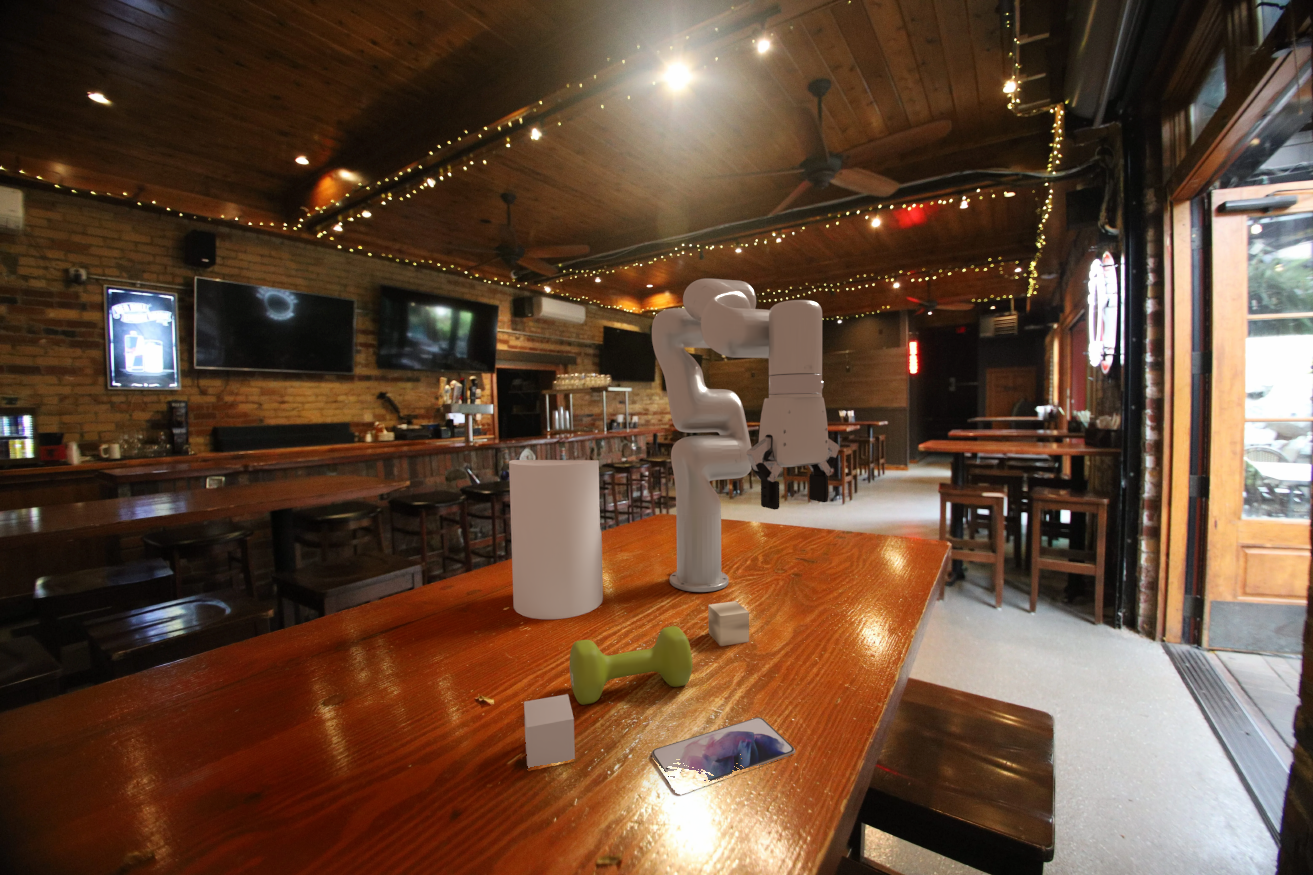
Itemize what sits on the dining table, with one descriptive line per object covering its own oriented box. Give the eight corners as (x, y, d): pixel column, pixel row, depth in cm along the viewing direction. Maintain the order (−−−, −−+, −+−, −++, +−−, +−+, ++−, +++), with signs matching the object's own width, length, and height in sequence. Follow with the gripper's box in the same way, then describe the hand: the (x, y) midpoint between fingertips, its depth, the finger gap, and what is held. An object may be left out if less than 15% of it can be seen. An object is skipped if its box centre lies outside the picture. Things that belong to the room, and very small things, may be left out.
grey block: (525, 743, 61) (524, 701, 60) (569, 734, 62) (567, 694, 62) (527, 772, 56) (526, 727, 55) (574, 762, 57) (573, 718, 57)
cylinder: (588, 621, 94) (585, 465, 92) (497, 616, 96) (492, 465, 95) (612, 587, 111) (609, 455, 109) (534, 584, 114) (530, 455, 112)
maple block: (708, 633, 89) (708, 604, 88) (735, 629, 90) (735, 601, 90) (720, 646, 84) (720, 616, 84) (749, 642, 85) (748, 612, 85)
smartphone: (798, 750, 58) (677, 793, 52) (798, 757, 58) (677, 800, 52) (760, 714, 65) (648, 749, 58) (760, 721, 65) (648, 756, 58)
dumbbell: (678, 665, 78) (677, 618, 78) (698, 693, 71) (697, 641, 70) (567, 684, 73) (566, 634, 73) (576, 716, 66) (574, 660, 65)
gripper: (817, 389, 84) (817, 495, 85) (731, 389, 76) (732, 506, 77) (856, 387, 78) (855, 502, 79) (767, 387, 69) (767, 515, 70)
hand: (795, 504), depth 78 cm, fingers open, 9 cm apart
